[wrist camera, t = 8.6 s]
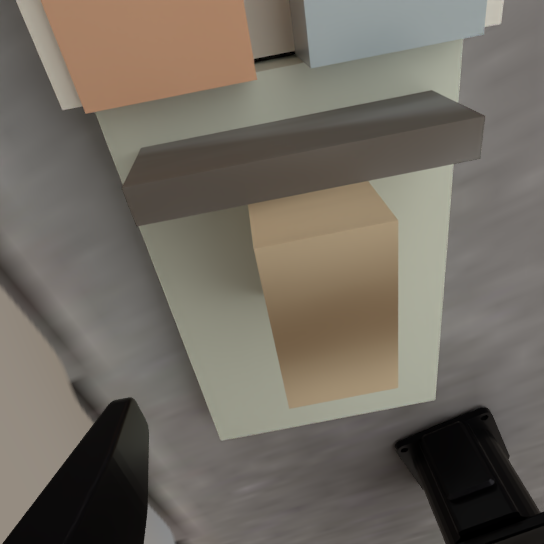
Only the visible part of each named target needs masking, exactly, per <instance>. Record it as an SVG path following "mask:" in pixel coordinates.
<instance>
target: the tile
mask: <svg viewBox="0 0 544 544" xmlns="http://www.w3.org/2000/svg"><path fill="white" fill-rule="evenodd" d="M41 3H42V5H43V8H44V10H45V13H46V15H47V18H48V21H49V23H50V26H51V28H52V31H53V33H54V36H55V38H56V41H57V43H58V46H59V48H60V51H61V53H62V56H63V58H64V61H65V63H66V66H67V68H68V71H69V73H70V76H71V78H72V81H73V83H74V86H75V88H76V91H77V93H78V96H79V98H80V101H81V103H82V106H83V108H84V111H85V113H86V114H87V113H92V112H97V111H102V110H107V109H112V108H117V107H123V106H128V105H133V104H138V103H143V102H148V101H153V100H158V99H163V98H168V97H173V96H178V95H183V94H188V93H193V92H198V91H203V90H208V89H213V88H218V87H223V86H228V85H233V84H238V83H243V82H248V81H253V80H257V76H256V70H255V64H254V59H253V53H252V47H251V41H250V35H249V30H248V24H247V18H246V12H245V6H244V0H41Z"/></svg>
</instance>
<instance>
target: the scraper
mask: <svg viewBox="0 0 544 544" xmlns="http://www.w3.org/2000/svg"><path fill="white" fill-rule="evenodd" d="M484 121H485V116H484V115H482V114H480V113H478V112H476V111H474V110H472V109H470V108H468V107H466V106H464V105H461V104H459V103H457V102H455V101H453V100H451V99H449V98H447V97H445V96H443V95H441V94H439V93H437V92H435V91H433V90H430V91H425V92H420V93H415V94H410V95H405V96H400V97H395V98H390V99H384V100H379V101H374V102H369V103H364V104H359V105H354V106H349V107H344V108H339V109H334V110H329V111H324V112H319V113H314V114H309V115H304V116H299V117H294V118H289V119H284V120H279V121H274V122H269V123H264V124H259V125H254V126H249V127H243V128H238V129H233V130H228V131H223V132H218V133H213V134H208V135H203V136H198V137H193V138H188V139H183V140H178V141H173V142H168V143H163V144H158V145H153V146H148V147H143V148H141V149H140V151H139V153H138V155H137V157H136V159H135V161H134V163H133V165H132V168H131V170H130V172H129V174H128V176H127V178H126V180H125V182H124V184H123V186H122V190H123V193H124V195H125V198H126V201H127V203H128V206H129V208H130V211H131V213H132V216H133V219H134V221H135V224H136V226H142V225H147V224H152V223H157V222H162V221H167V220H172V219H177V218H183V217H188V216H193V215H198V214H203V213H208V212H213V211H218V210H223V209H228V208H233V207H238V206H243V205H248V210H249V217H250V225H251V233H252V241H253V248H254V253H255V257H256V262H257V266H258V271H259V275H260V280H261V284H262V289H263V293H264V298H265V302H266V307H267V311H268V316H269V320H270V325H271V329H272V334H273V338H274V343H275V347H276V352H277V356H278V361H279V365H280V370H281V374H282V379H283V383H284V388H285V392H286V397H287V401H288V406H289V409H291V408H297V407H302V406H307V405H312V404H317V403H323V402H328V401H333V400H338V399H343V398H348V397H354V396H359V395H364V394H369V393H374V392H379V391H385V390H390V389H395V388H398V219H397V218H396V217H395V215H394V214H393V213H392V211H391V210H390V209H389V208H388V206H387V205H386V204H385V202H384V201H383V200H382V198H381V197H380V196H379V194H378V193H377V192H376V191H375V189H374V188H373V187H372V185H371V184H370V183H369V181H370V180H375V179H380V178H385V177H390V176H396V175H401V174H406V173H411V172H416V171H421V170H426V169H431V168H436V167H441V166H446V165H451V164H456V163H461V162H467V161H472V160H477V159H480V157H481V148H482V139H483V130H484Z"/></svg>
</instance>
